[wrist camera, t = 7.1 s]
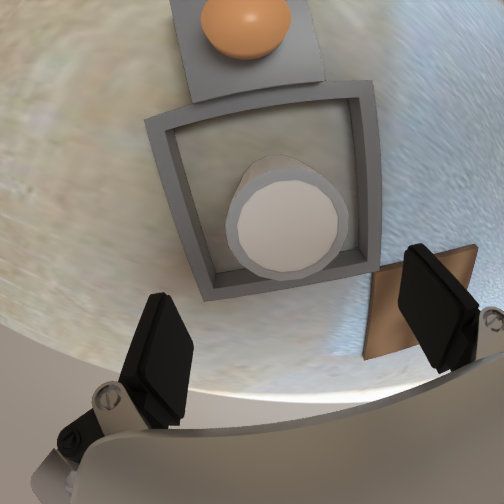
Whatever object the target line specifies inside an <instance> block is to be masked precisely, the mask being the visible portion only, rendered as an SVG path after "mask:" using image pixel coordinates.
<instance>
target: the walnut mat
mask: <svg viewBox="0 0 504 504" xmlns="http://www.w3.org/2000/svg"><path fill="white" fill-rule="evenodd" d="M477 252H478V247H477V246H476V245H475V244H473V245H469V246H465V247H461V248H457V249H453V250H449V251H445V252H441V253H437V254H434V255H435V256H436V257H437V258H438V259H439V260H440V262H441V263H442V264H443V265H444V266H445V267H446V268H447V269H448V270H449V271H450V272H451V273H452V274H453V275H454V276H455V277H456V279H457V280H458V281H459V282H460V283H461V284H462V285H463V286H464V288H465V289H466V290H467V288H468V285H469V281H470V278H471V275H472V271H473V268H474V264H475V260H476V256H477ZM402 269H403V262H398V263H394V264H389V265H385V266H380V269H379V271H375V272H372V285H371V297H370V306H369V315H368V323H367V331H366V338H365V345H364V351H363V358H364V360H368V359H372V358H376V357H379V356H383V355H386V354H390V353H393V352H397V351H400V350H403V349H406V348H409V347H412V346H415V345H418V344H419V342H418V341H417V339H416V337H415V335H414V334H413V332H412V330H411V328H410V327H409V325H408V323H407V322H406V320H405V318H404V317H403V315H402V313H401V312H400V310H399V308H398V296H399V290H400V283H401V276H402Z"/></svg>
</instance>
